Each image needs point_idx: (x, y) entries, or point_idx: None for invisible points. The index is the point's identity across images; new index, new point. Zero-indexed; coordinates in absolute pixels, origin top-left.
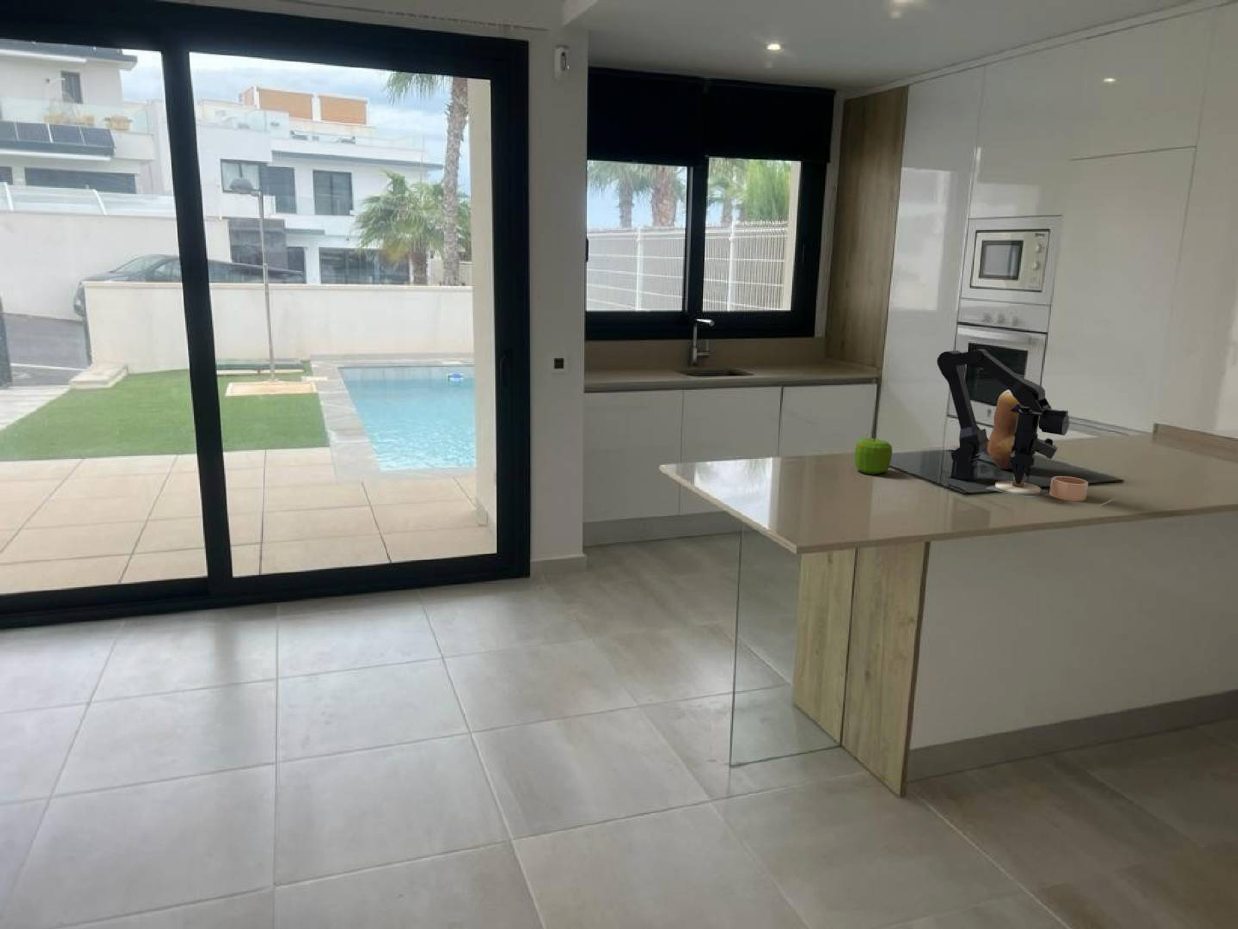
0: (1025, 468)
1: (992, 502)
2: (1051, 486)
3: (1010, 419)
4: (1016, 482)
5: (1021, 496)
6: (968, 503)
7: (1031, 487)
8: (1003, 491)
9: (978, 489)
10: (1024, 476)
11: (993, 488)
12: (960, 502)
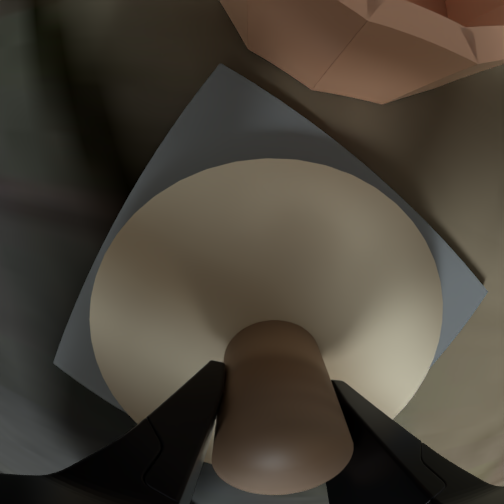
0: (482, 489)
1: (488, 434)
2: (396, 76)
3: None
4: None
5: (451, 340)
6: (479, 475)
7: (286, 248)
8: None
9: (300, 493)
10: (331, 400)
11: None
12: None
